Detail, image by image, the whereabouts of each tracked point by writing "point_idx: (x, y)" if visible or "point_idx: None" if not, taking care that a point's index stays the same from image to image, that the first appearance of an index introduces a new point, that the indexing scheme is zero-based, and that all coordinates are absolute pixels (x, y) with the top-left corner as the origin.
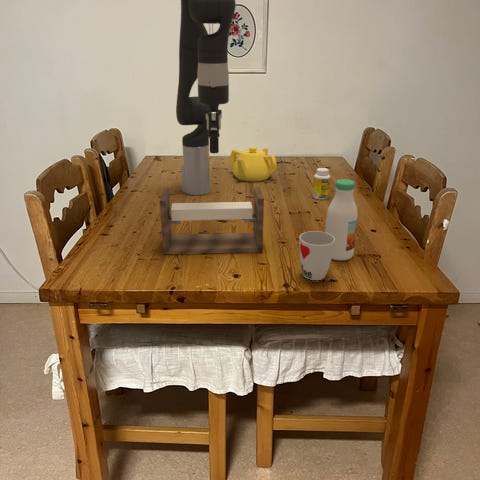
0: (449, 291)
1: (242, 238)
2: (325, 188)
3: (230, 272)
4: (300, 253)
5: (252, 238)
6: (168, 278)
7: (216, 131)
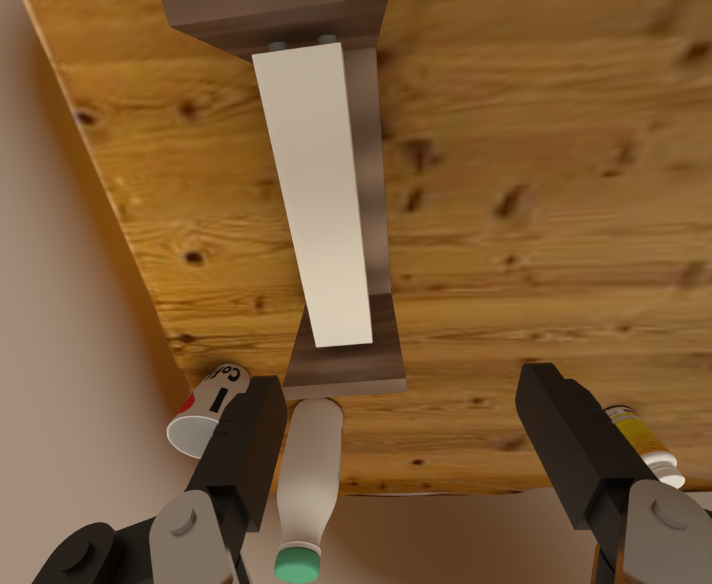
0: None
1: None
2: None
3: (205, 245)
4: (198, 393)
5: None
6: (126, 94)
7: (573, 512)
